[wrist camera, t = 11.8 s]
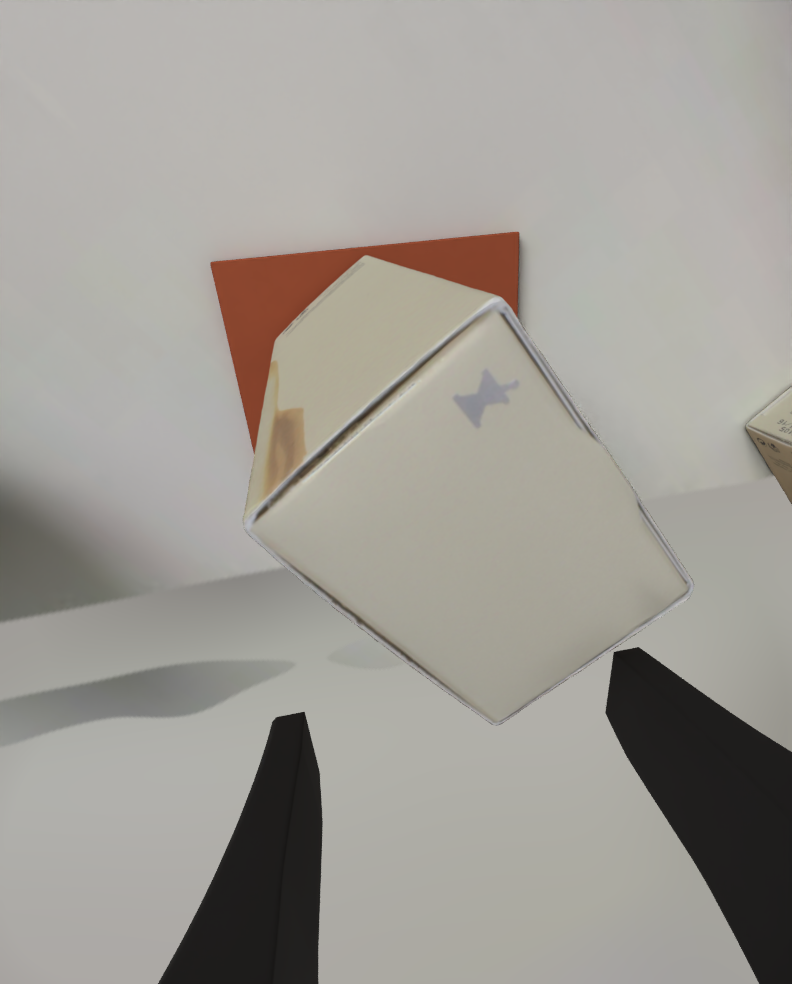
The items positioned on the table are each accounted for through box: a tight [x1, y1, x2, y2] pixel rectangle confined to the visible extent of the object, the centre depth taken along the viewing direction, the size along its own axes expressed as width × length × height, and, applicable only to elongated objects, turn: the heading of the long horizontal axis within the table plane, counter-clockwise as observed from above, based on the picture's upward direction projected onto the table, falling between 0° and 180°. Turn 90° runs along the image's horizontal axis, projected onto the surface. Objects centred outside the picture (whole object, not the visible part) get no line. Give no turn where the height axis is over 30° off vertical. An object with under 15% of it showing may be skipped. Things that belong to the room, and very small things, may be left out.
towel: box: [211, 232, 519, 454], centre depth 18 cm, size 10×8×1 cm
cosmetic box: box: [243, 255, 694, 725], centre depth 12 cm, size 6×4×12 cm
